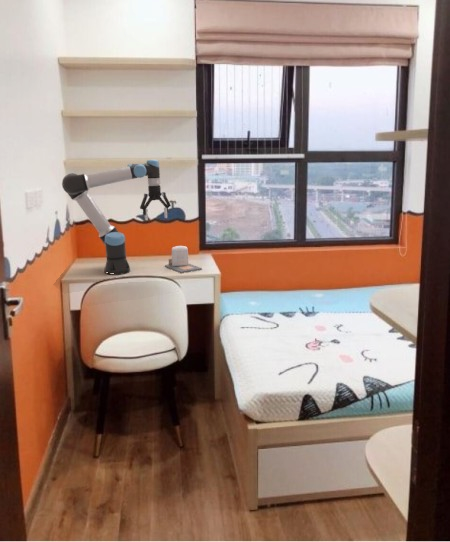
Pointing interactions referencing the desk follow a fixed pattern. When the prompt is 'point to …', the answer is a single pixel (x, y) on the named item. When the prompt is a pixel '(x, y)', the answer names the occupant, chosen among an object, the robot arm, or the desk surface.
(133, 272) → the desk surface
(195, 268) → the dock
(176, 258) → the photo printer
